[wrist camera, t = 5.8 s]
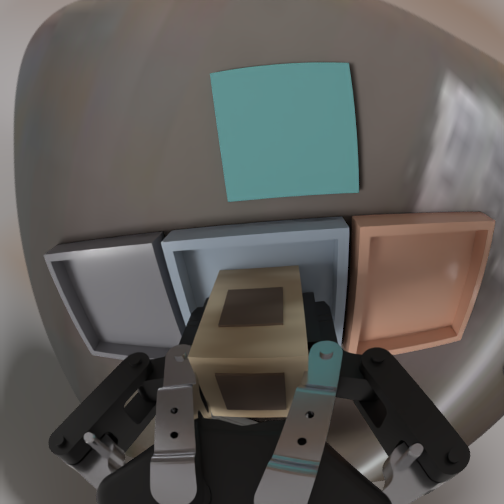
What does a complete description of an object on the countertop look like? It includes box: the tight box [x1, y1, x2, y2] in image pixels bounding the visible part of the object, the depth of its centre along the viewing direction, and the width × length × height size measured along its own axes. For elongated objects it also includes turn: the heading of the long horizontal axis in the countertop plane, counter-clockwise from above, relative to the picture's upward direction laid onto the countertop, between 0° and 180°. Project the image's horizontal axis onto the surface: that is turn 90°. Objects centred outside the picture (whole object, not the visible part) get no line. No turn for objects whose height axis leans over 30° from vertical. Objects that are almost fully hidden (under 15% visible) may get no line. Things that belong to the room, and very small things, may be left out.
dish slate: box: [161, 216, 349, 346], centre depth 14 cm, size 8×8×2 cm
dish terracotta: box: [343, 212, 495, 355], centre depth 13 cm, size 8×8×2 cm
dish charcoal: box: [44, 231, 186, 360], centre depth 16 cm, size 8×8×2 cm
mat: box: [210, 63, 359, 202], centre depth 11 cm, size 6×6×1 cm
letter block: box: [188, 265, 308, 417], centre depth 12 cm, size 4×4×6 cm
